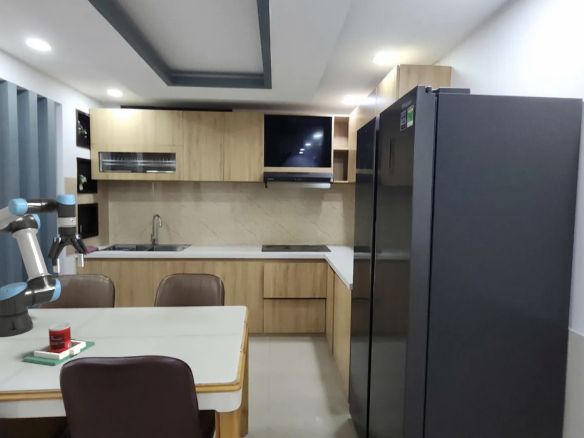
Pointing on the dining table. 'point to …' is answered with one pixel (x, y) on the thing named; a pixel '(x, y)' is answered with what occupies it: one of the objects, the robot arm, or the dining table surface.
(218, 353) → the dining table surface
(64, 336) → the canned food
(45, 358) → the board
